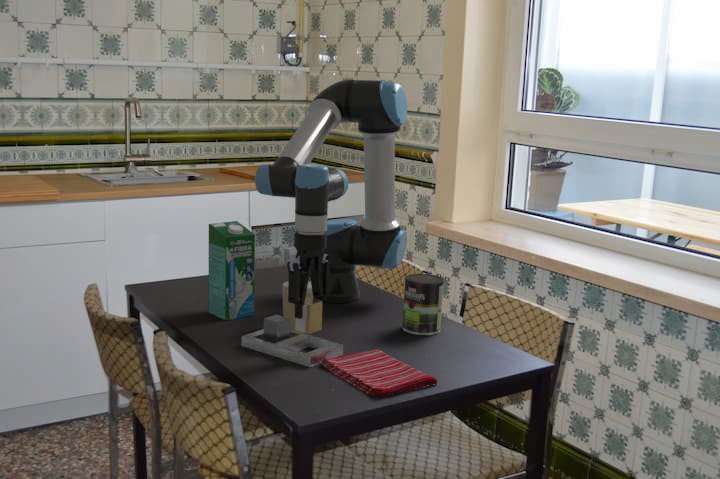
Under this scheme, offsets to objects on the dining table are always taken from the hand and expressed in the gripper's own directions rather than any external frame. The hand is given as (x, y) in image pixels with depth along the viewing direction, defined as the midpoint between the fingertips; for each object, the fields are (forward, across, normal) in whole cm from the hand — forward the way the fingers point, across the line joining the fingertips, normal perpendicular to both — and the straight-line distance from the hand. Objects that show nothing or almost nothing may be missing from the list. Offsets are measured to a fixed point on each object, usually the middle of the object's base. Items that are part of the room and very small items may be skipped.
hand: (307, 328), depth 199 cm
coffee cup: (+7, -14, -15) cm, 22 cm away
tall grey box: (+7, 0, -10) cm, 12 cm away
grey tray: (+7, 0, -5) cm, 8 cm away
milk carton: (+7, -11, -37) cm, 39 cm away
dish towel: (+7, -1, +20) cm, 21 cm away
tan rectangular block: (0, 0, 0) cm, 0 cm away
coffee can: (+7, -36, +9) cm, 38 cm away
